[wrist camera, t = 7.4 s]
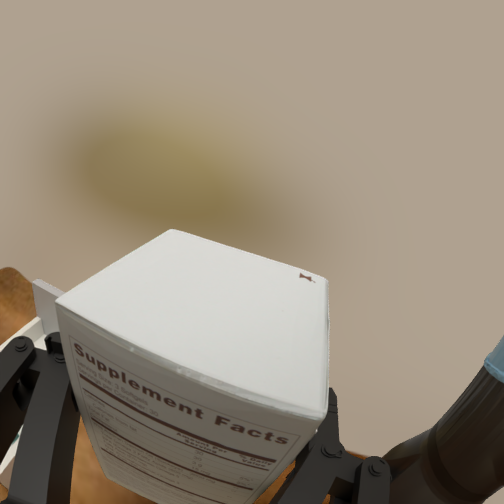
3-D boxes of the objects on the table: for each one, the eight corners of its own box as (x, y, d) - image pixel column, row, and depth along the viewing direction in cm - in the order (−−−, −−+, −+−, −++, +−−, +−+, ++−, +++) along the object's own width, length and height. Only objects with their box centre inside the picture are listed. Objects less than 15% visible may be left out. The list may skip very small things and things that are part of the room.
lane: (10, 491, 11) (-31, 451, 8) (-54, 424, 11) (-88, 371, 8) (107, 364, 30) (104, 311, 27) (46, 329, 31) (38, 278, 28)
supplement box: (155, 400, 18) (172, 223, 13) (258, 439, 17) (335, 275, 12) (101, 478, 11) (45, 293, 6) (227, 532, 10) (338, 416, 5)
